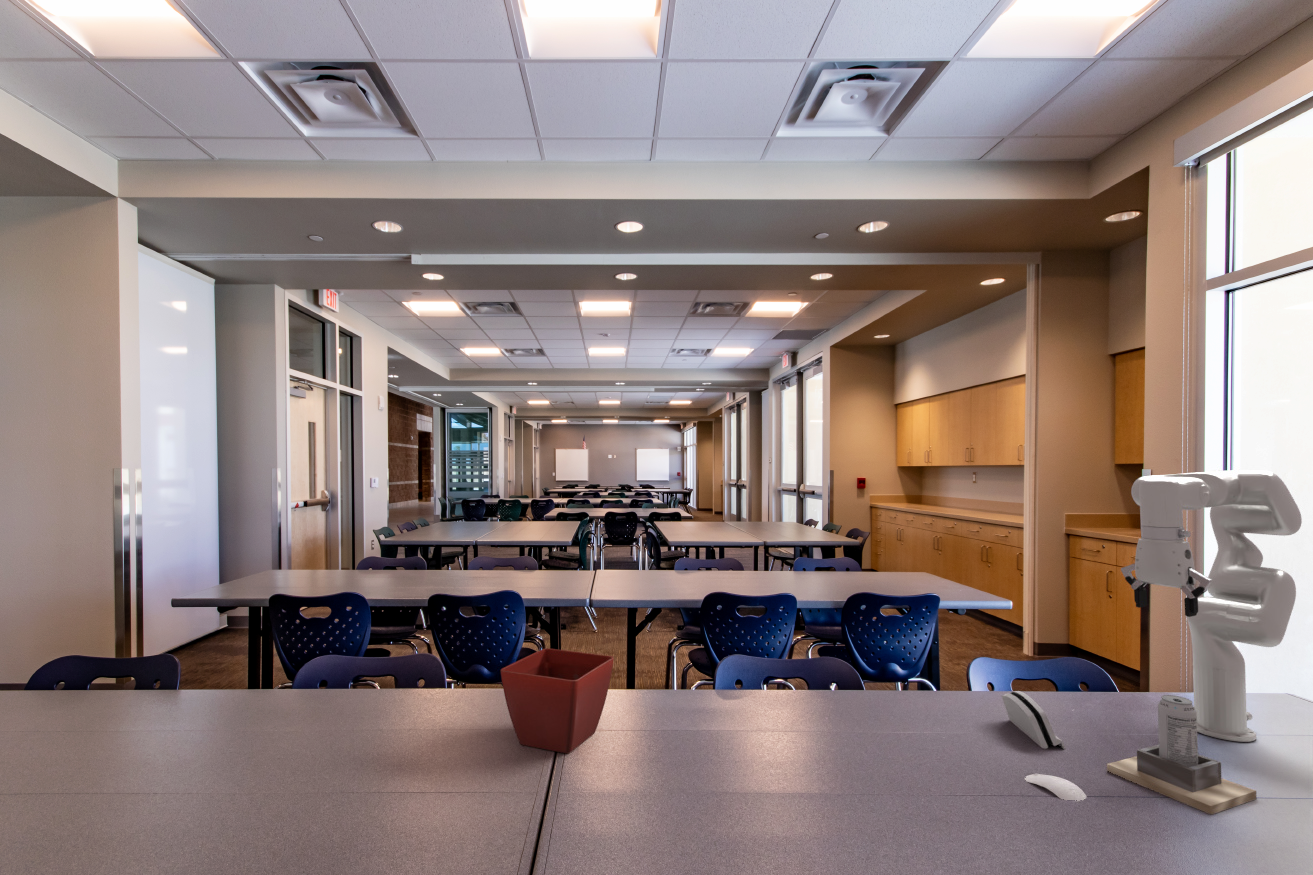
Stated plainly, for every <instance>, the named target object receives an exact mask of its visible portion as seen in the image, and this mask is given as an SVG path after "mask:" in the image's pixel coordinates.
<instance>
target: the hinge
mask: <svg viewBox="0 0 1313 875" xmlns="http://www.w3.org/2000/svg"><path fill="white" fill-rule="evenodd" d="M1001 699H1002V702H1003V704H1004V705H1003V706H1004V707H1005V710H1006V714H1007V717H1008V719H1009V721H1010V722H1011V723H1013V725H1014V726H1016V728H1018V729H1019V730H1020V731H1021V732H1023V733H1024V734H1025V735H1026V736H1028V737H1029V739H1031V740H1032V741H1033V742H1034V743H1036V744H1037V745H1038V746H1039V747H1041V748H1042V749H1049V745H1051V746H1054V747H1056V746H1057V745H1058V746H1059V747H1060V746H1061V747H1060V748H1061V749H1063V750H1066V746H1065V744H1064V742H1063V740H1062V739H1060V737H1058V736H1057V735H1056V734H1055V732H1054V730H1053V727H1052V725H1051V722H1050V720H1049V718H1048V716H1047V713H1046V711H1045V710H1044V709H1043V708H1042V707H1041V706H1040V705H1039V704H1038V703H1037V702H1036V701H1035V700H1034V699H1033V698H1032V697H1031V696H1029V695H1028V694H1027V693H1025V692H1023V691H1020V690H1015V691H1014V690H1013V691H1011V692H1009V693H1004V694H1003V695H1001Z"/></svg>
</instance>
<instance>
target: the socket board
mask: <svg viewBox="0 0 1313 875" xmlns="http://www.w3.org/2000/svg"><path fill="white" fill-rule="evenodd" d="M1106 770H1107V771H1109V772H1108V773H1110V772H1111V773H1110V774H1112V773H1113V775H1115V774H1116V775H1115V776H1117V775H1118V777H1119V776H1121V777H1120V778H1122V777H1123V778H1122V779H1124V778H1125V780H1126V781H1129V782H1131V781H1132V782H1131V783H1134V784H1136V783H1137V785H1139V786H1142V787H1144V788H1145V789H1148V788H1149V790H1151V791H1153V790H1154V791H1153V792H1156V793H1158V792H1159V793H1158V794H1161V795H1163V796H1166V797H1167V798H1171V799H1172V800H1174V801H1177V802H1180V803H1182V804H1184V805H1187V806H1189V807H1191V808H1194V809H1196V810H1199V811H1202V812H1204V813H1206V814H1209V815H1211V816H1212V815H1214V814H1217V813H1221V812H1223V811H1226V810H1228V809H1231V808H1234V807H1237V806H1240V805H1243V804H1246V803H1249V802H1251V801H1254V800H1256V799H1257V790H1255V789H1252V788H1249V787H1247V786H1244V785H1242V784H1238V783H1236V782H1234V781H1230V780H1227V779H1225V778H1222V762H1221V761H1219V760H1215V759H1213V758H1210V757H1208V756H1204V755H1201V754H1199V753H1198V765H1196V766H1193V767H1186V766H1184V765H1181V764H1178V763H1175V762H1173V761H1170V760H1167V759H1165V758H1162V757H1159V744H1155V745H1151V746H1148V747H1143V748H1139V749H1136V756H1135V755H1134V756H1132V757H1128V758H1124V759H1121V760H1120V759H1119V760H1117V761H1113V762H1108V763H1107V764H1106ZM1107 771H1106V772H1107Z"/></svg>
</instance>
